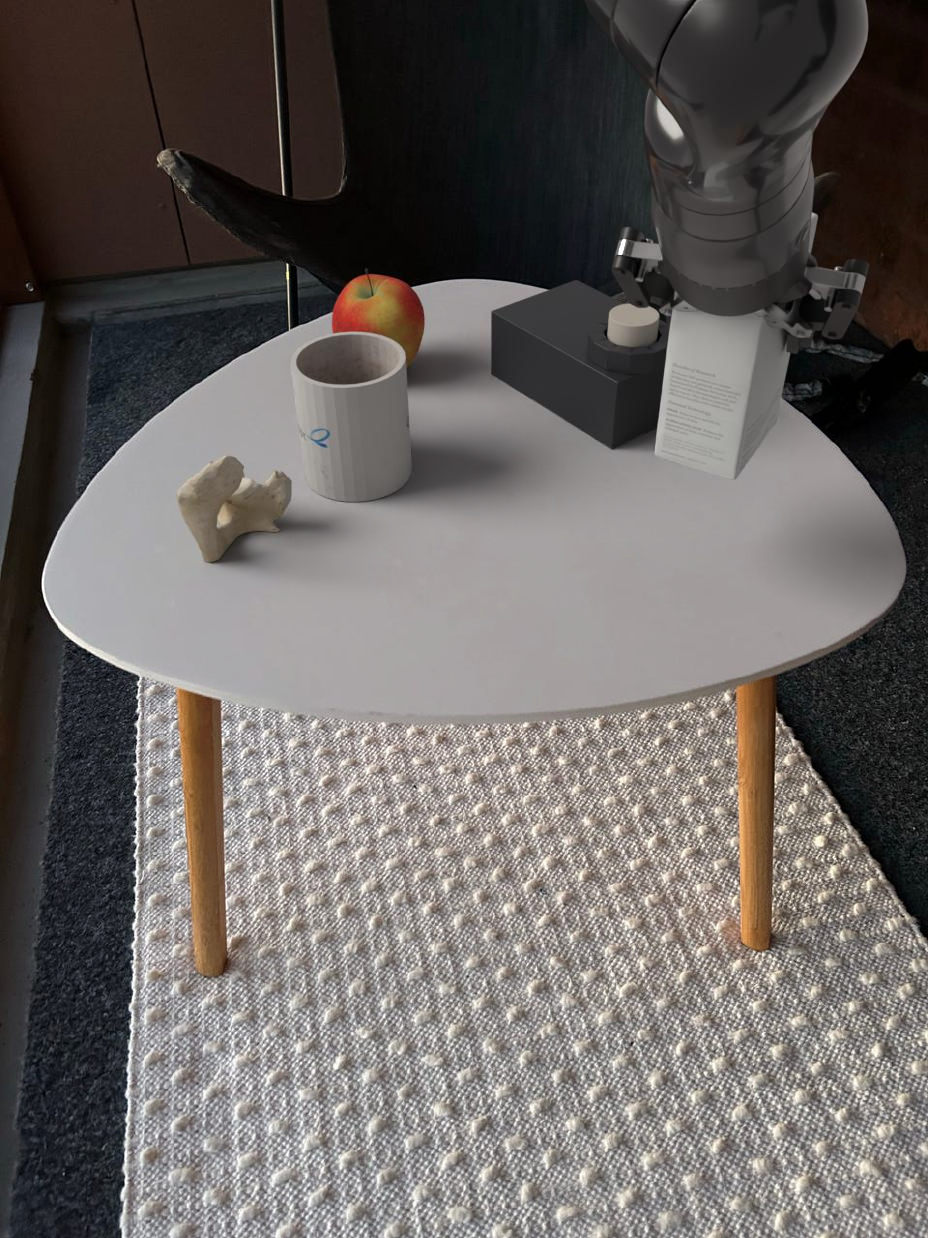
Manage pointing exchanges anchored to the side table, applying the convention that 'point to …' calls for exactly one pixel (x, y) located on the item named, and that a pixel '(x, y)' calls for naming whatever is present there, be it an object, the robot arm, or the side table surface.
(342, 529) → the side table surface
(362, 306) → the apple
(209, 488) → the bone
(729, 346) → the cosmetic box
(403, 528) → the side table surface
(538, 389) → the dark gray box
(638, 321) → the beige push button
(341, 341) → the mug
